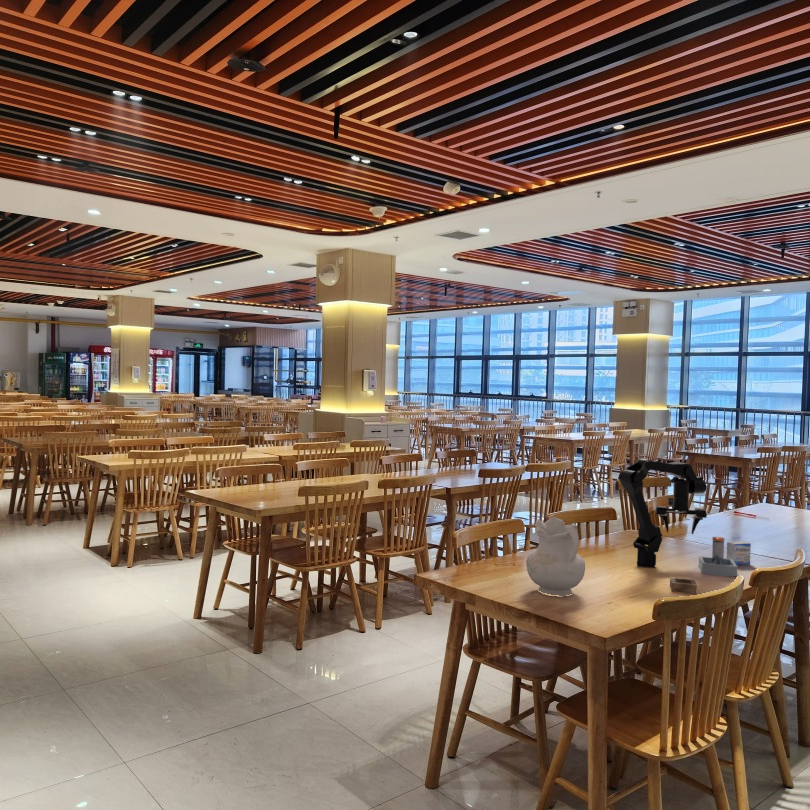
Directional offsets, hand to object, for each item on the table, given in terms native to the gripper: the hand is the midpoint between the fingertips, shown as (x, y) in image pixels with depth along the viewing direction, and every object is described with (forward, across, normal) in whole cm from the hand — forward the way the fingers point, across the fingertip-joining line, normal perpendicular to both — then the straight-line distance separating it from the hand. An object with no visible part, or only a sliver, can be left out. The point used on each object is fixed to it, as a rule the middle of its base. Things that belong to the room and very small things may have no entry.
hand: (679, 533), depth 280 cm
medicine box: (+12, -23, -8) cm, 27 cm away
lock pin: (+11, -13, +9) cm, 19 cm away
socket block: (+12, +2, +40) cm, 42 cm away
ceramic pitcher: (+12, +43, +61) cm, 76 cm away
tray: (+12, -13, +9) cm, 20 cm away
